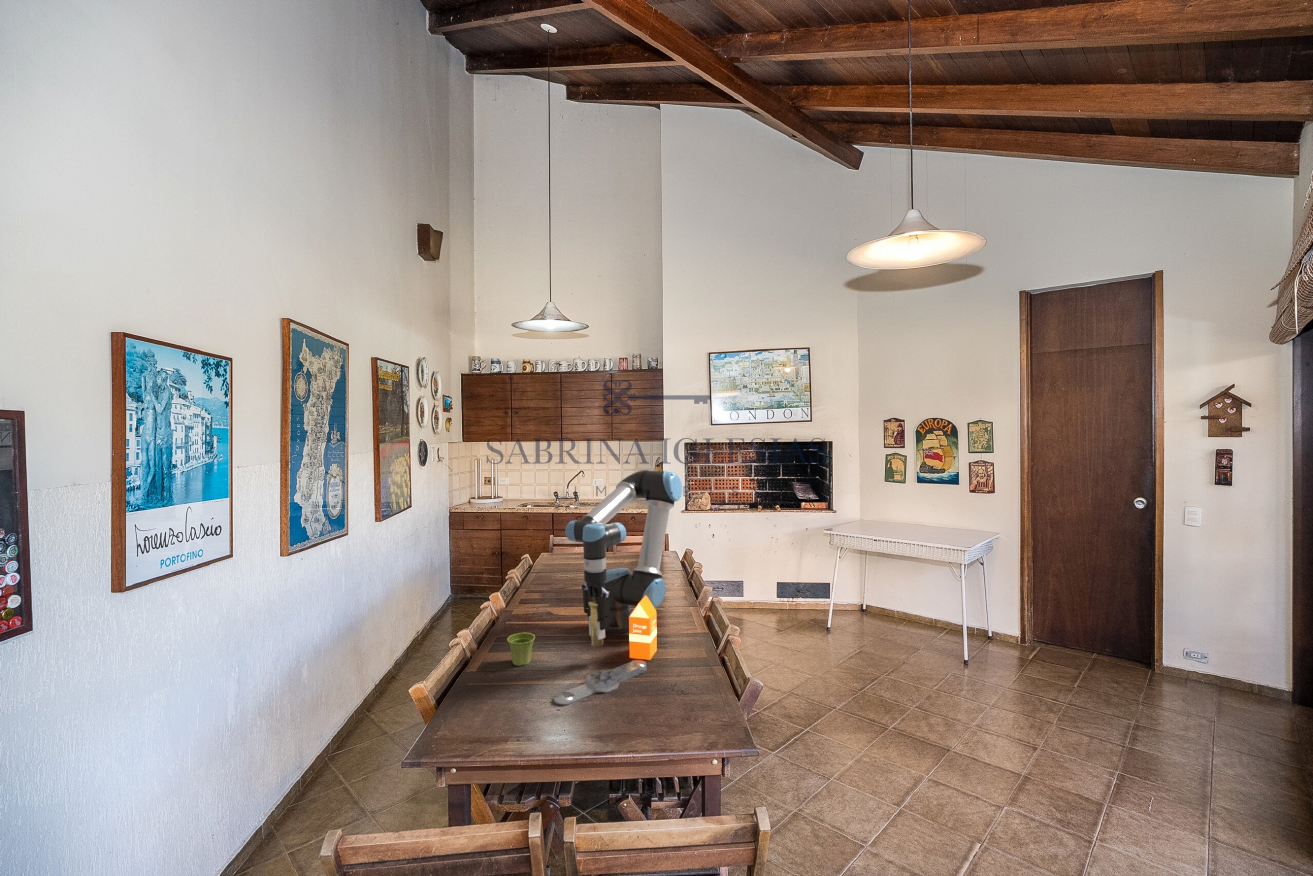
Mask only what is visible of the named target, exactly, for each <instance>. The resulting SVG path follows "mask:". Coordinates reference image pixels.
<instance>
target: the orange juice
mask: <svg viewBox="0 0 1313 876" xmlns="http://www.w3.org/2000/svg"><path fill="white" fill-rule="evenodd" d="M631 613H632V614H631V615H630V616H629V633H628V636H629V637H628V639H629V640H628V641H629V643H628V644H629V659H636V660H648V661H651V660H652V658H653V657H654V655H655V654H656V652H657V649H658V648H657V646H658V643H657V641H658V640H657V639H658V638H657V637H658V636H657V635H658V630H657V629H658V628H657V626H658V625H657V610H656V608H654V607H653V605H652V604H651V602H650V601H649V599H648V598H647V596H645V597H644V598H643V599H642V600H641V601H640V602H639V604H638V605H637V606H635V608H634V609H633V611H631Z"/></svg>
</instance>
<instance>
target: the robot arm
mask: <svg viewBox="0 0 1313 876" xmlns="http://www.w3.org/2000/svg"><path fill="white" fill-rule="evenodd" d="M679 476H680V475H678V474H677V473H676V472H673V471H668V470H665V471H664V470H639V471H636V472H633V473H632V474H629V475H628V476H626V477H625V478H623V479H622V480H620V481H619V482H618V483H617V485H616V486H615V489H614V490H613V491H612V492H610V493H609V494H608V495H607V496H606V497H605V498H604V499H602V500H601V501H600V502H599V503H598V504H597V505H595V507H594V508H593V509H591V510H590V511H589V512H587V514H585V515H584V516H583V517H582V518H580V520H576V519H575V520H570V521H569V522H568V523H567V525H566V527H565V532H564V533H565V536H566V539H567V540H569V541H571V542H575V543H582V544H583V545H582V546H583V549H582V550H583V569H584V571H583V578H584V582H585V583H584V584H581V590H582V598H583V600H582V601H583V612H584V613H585V614H586V616H587V618H588V630H589V631H588V633H589V635H588V636H590V637H591V610H590V606H589V603H588V602H589V601H592V600H595V601H596V603H597V606H598V607H597V612H598V620H597V637H598V640H600V639H603V640H604V639H605V638H606V634H608V635H620V634H625V633H628V632H629V616H630V615H631V614H632V610H631V606H632V607H636V606H637V605H638V604H639V602H640V601H641V600H642V599H643V598H644V597H645V596H647V598H648V599H649V601H650V602H651V604H652V605H653V607H654V608H655V609H657V608H658V607H660V605H661V604H662V603H663V601H664V599H665V597H666V592H667V584H666V581H665V579H663V574H662V572H661V569H660V567H661V564H662V563H661V562H662V555H663V551H664V545H665V538H666V532H667V527H668V520H669V514H670V510H671V509H673V508H674V506H675V502H678V501H680V499H681V498H682V495H683V486H682V481H681V477H679ZM638 499H645V504H646V505H647V506H648V507H647V513H646V518H645V524H644V530H643V535H642V541H641V548H640V552H639V558H638V564H637V566H636V567H635V568H633V570H632V574H631V571H630V569H629V568H626V567H621V568H620V567H619V568H612V569H609V570H606V568H607V557H606V556H607V555H606V550H607V549H609V548H612V547H614V546H618V545H619V544H620V543H623V542H624V541H625V540H626V538H627V530H626V528H625V526H624V525H623V524H622V523H621V522H611V523H608V522H610V520H611V519H613V518H614V517H615V516H616V515H617V514H618V513H619V512H620V511H622V509H624V507H625V506H627V504H631V503H633V502H635V501H636V500H638Z"/></svg>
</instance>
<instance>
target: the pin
mask: <svg viewBox="0 0 1313 876" xmlns="http://www.w3.org/2000/svg"><path fill="white" fill-rule="evenodd" d="M588 603H589V606H590V610H591V636H590V637H591V638H590V639H591V646H593V647H602V646H603V645H604V638H603V639H600V640H598V637H597V620H598V612H597V607H598V606H597V603H596V601H595V600H592V601H589V602H588Z"/></svg>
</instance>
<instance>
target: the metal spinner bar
mask: <svg viewBox="0 0 1313 876" xmlns="http://www.w3.org/2000/svg"><path fill="white" fill-rule="evenodd" d="M646 673H647V662H646V661H645V660H644V659H633V660H630V661H629V662H627V663H625V664H622V665H619V666H617V667H614V668H612V669H609V670H601V669H600V670H596V671H593V672H591V673H588V674H587V676H586V679H585V683H583V684H580V685H577V686H575V687H573V688H570V689H568V690H565V691H562V692H558V693H556V694H555V695H554V697H553V699H554V700H553V702H554V704H556V705H558V706H567V705H572V704H573V703H574V702H577V701H578V700H582V699H584V698H586V697H588V696H591V695H593V694H596V693H609V692H612V691H614V690H617V689H618V688H619V684H620V683H623V682H625V681H628V680H630V679H632V678H635V677H638V676H639V675H644V674H646Z"/></svg>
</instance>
